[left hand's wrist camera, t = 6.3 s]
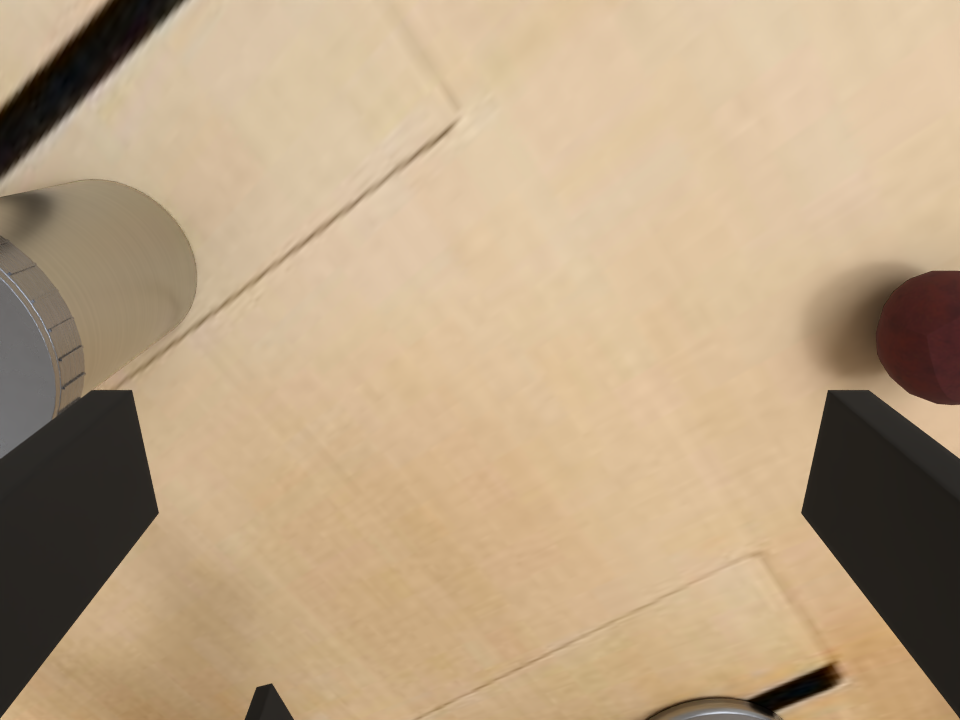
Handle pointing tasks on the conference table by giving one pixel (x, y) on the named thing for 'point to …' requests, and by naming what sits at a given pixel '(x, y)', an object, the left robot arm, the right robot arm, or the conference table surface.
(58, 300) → the lid
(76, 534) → the left robot arm
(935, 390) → the dark red ball
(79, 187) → the jar
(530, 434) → the conference table surface
